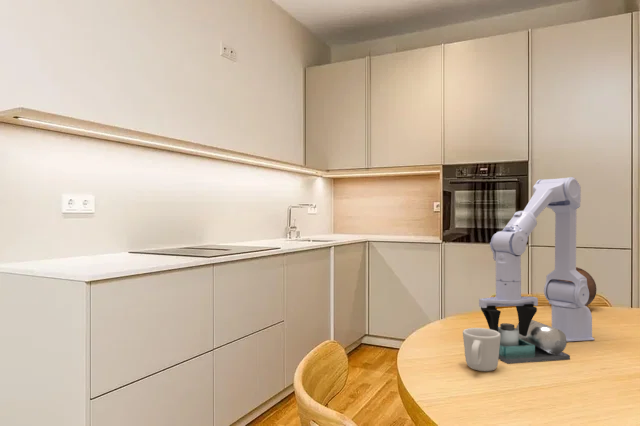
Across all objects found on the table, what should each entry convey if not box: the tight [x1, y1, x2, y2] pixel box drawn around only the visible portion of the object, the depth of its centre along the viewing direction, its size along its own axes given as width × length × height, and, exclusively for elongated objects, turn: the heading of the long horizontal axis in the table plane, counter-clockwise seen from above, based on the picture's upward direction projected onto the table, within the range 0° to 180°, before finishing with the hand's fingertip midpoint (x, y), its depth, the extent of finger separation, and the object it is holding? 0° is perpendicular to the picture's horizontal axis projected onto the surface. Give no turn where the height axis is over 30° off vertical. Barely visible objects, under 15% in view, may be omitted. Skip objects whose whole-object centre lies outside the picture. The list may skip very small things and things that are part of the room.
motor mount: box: [498, 319, 571, 365], centre depth 110 cm, size 16×13×7 cm
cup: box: [462, 327, 501, 372], centre depth 99 cm, size 11×8×8 cm
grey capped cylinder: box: [498, 322, 519, 346], centre depth 110 cm, size 5×5×6 cm
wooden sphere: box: [560, 266, 597, 307], centre depth 161 cm, size 15×15×15 cm
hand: (508, 335), depth 110 cm, fingers open, 7 cm apart
